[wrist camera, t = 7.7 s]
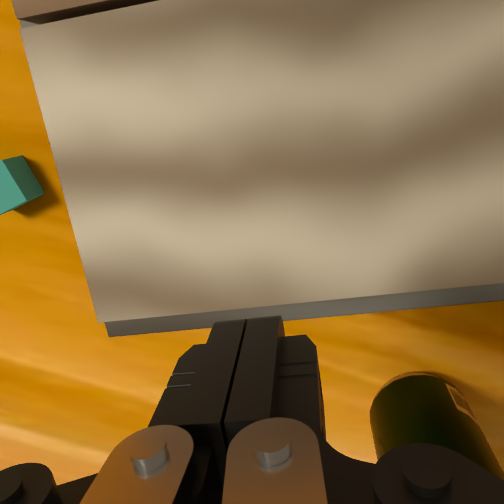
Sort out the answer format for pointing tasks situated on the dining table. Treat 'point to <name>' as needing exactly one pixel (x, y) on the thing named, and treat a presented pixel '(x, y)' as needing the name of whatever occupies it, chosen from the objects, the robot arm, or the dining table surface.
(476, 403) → the dining table surface
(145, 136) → the beige flat slab
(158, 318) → the floor base
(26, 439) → the dining table surface
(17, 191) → the alien figure
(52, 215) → the dining table surface
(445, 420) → the beer can
